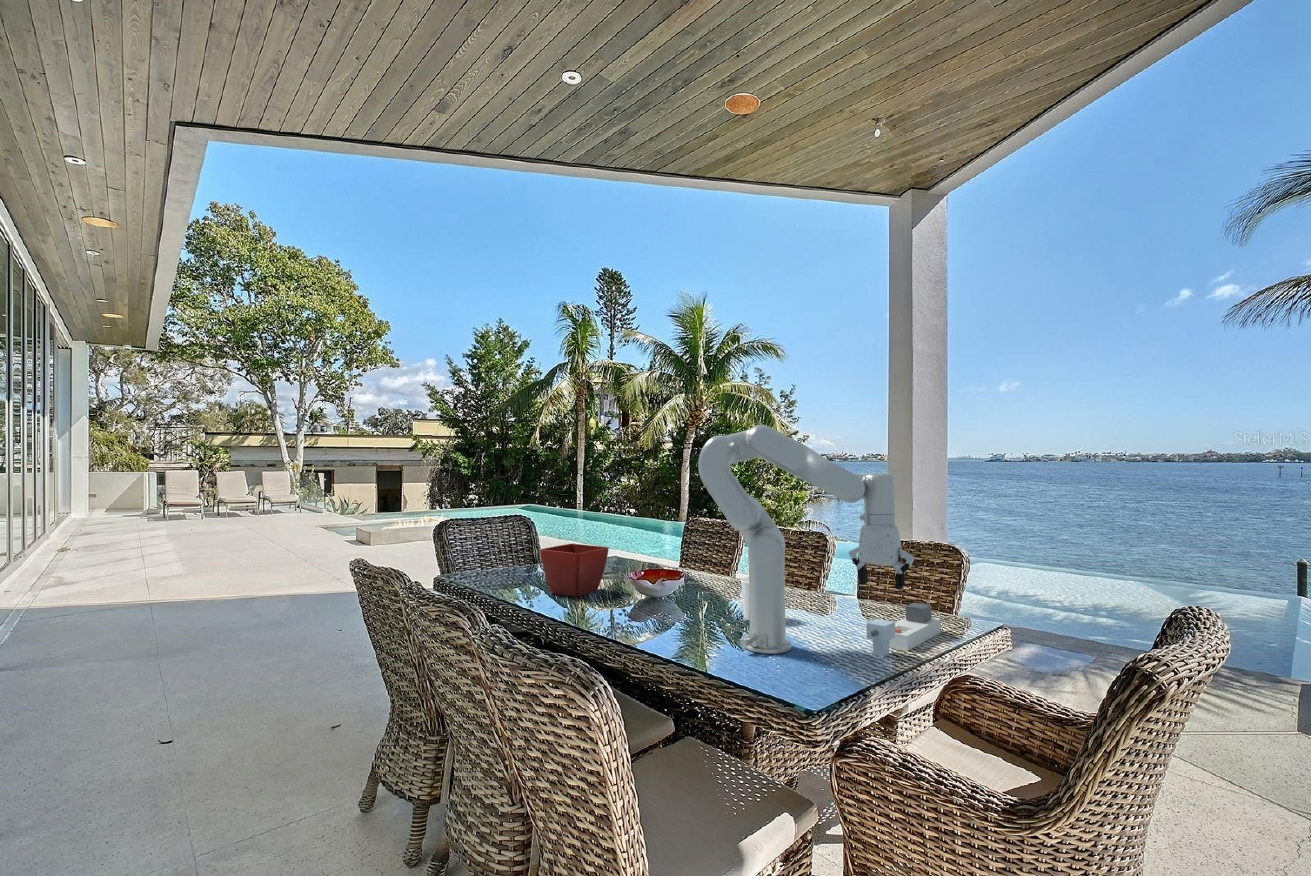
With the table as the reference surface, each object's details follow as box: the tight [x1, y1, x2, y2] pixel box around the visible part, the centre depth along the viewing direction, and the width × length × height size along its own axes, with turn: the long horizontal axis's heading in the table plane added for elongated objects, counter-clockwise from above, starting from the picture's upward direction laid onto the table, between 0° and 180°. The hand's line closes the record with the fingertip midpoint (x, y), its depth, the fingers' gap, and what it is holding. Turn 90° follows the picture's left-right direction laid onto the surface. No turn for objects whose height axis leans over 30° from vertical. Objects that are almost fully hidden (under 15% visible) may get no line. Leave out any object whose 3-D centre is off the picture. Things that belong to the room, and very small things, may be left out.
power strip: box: [889, 616, 942, 652], centre depth 184 cm, size 24×8×5 cm, turn 137°
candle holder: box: [740, 577, 750, 622], centre depth 208 cm, size 10×10×12 cm
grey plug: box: [866, 618, 896, 658], centre depth 170 cm, size 8×5×8 cm, turn 137°
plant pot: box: [539, 543, 609, 598], centre depth 248 cm, size 19×19×17 cm
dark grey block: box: [905, 602, 933, 623], centre depth 189 cm, size 8×5×8 cm, turn 137°
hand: (881, 586), depth 171 cm, fingers open, 9 cm apart
